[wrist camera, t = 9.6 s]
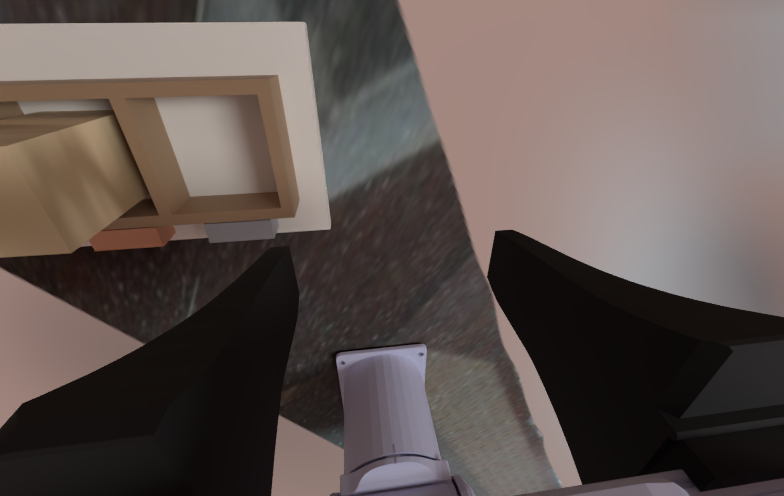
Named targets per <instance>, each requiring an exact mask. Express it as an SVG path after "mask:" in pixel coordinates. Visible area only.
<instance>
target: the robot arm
mask: <svg viewBox="0 0 784 496" xmlns="http://www.w3.org/2000/svg"><path fill="white" fill-rule="evenodd" d="M487 278H488V280H489V283H490V286H491V288H492V291H493V293H494V295H495V297H496V300H497V302H498V303H499V305H500V307H501V309H502V310H503V312H504V314H505V315H506V317H507V318H508V320H509V322H510V324H511V325H512V327H513V329H514V330H515V332H516V334H517V335H518V337H519V339H520V340H521V342H522V344H523V345H524V347H525V348H526V350H527V352H528V354H529V356H530V358H531V360H532V361H533V363H534V366H535V368H536V370H537V372H538V374H539V376H540V378H541V381H542V383H543V385H544V387H545V390H546V392H547V394H548V396H549V399H550V401H551V404H552V406H553V408H554V411H555V413H556V415H557V418H558V420H559V423H560V425H561V428H562V430H563V433H564V436H565V438H566V441H567V443H568V446H569V448H570V451H571V454H572V457H573V459H574V462H575V465H576V468H577V471H578V474H579V477H580V479H581V482H582V485H578V486H572V487H566V488H559V489H553V490H547V491H541V492H534V493H528V494H522V495H515V496H784V317H779V316H774V315H768V314H762V313H757V312H751V311H746V310H740V309H735V308H729V307H724V306H720V305H716V304H711V303H707V302H702V301H698V300H694V299H690V298H685V297H682V296H678V295H674V294H670V293H667V292H664V291H660V290H657V289H653V288H650V287H646V286H643V285H640V284H637V283H634V282H630V281H628V280H625V279H623V278H620V277H617V276H614V275H612V274H609V273H606V272H604V271H601V270H598V269H596V268H594V267H592V266H589V265H587V264H584V263H582V262H580V261H578V260H576V259H573V258H571V257H569V256H567V255H565V254H563V253H561V252H559V251H557V250H554V249H552V248H550V247H548V246H546V245H544V244H542V243H540V242H538V241H536V240H534V239H532V238H530V237H528V236H526V235H524V234H521V233H519V232H516V231H514V230H502V231H495V236H494V242H493V248H492V253H491V259H490V264H489V270H488V276H487ZM298 304H299V290H298V285H297V280H296V276H295V271H294V266H293V262H292V257H291V252H290V247H289V246H285V247H271V248H270V249H268V250H267V251H266V252H265V253H264V254H263V255H262V256H261V257H260V258H259V259H258V260H257V261H256V262H255V263H254V264H253V265H252V266H250V267H249V268H248V269H247V270H246V271H245V272H244V273H243V274H242V275H241V276H240V277H239V278H238V279H237V280H235V281H234V282H233V283H232V284H231V285H230V286H228V287H227V288H226V289H225V290H224V291H222V292H221V293H220V294H219V295H218V296H217V297H215V298H214V299H213V300H212V301H210V302H209V303H208V304H207V305H205V306H204V307H203V308H201V309H200V310H199V311H197V312H196V313H194V314H193V315H191V316H190V317H188V318H187V319H186V320H184V321H183V322H181V323H180V324H178V325H177V326H175V327H173V328H172V329H170V330H168V331H167V332H165V333H163V334H162V335H160V336H159V337H157V338H155V339H154V340H152V341H150V342H149V343H147V344H145V345H144V346H142V347H140V348H139V349H136V350H135V351H133V352H131V353H129V354H127V355H125V356H123V357H122V358H120V359H118V360H116V361H114V362H112V363H110V364H108V365H106V366H104V367H102V368H100V369H98V370H96V371H94V372H92V373H90V374H88V375H86V376H83V377H81V378H79V379H77V380H75V381H72V382H70V383H68V384H66V385H63V386H61V387H59V388H57V389H55V390H53V391H50V392H48V393H46V394H44V395H41V396H39V397H37V398H35V399H32V400H30V401H27V402H25V403H23V404H22V405H21V406H20V407H19V408H18V409H17V410H16V412H15V413H14V414H13V415H12V416H11V417H10V418H9V419H8V420H7V422H6V423H5V424H4V425H3V426H2V427H1V428H0V496H271V489H272V477H273V466H274V454H275V453H274V452H275V444H276V434H277V425H278V416H279V407H280V399H281V391H282V385H283V380H284V375H285V370H286V366H287V362H288V357H289V353H290V349H291V344H292V340H293V336H294V331H295V327H296V322H297V315H298ZM426 352H427V349H426V346H425V345H424V344H414V345H405V346H395V347H386V348H377V349H367V350H358V351H349V352H340V353H338V354H337V355H336V364H337V370H338V376H339V383H340V389H341V396H342V402H343V409H344V475H341V476H340V493H332V494H331V495H330V496H475V494H474V492H473V490H472V488H471V487H470V485H469V484H468V483H466V482H465V481H464V480H463V478H462V477H461V476H460V475H453V476H451V474H450V470H449V466H448V461H447V460H441V457H440V452H439V448H438V444H437V440H436V435H435V431H434V427H433V422H432V418H431V414H430V410H429V405H428V401H427V397H426V393H425V388H424V383H425V367H426ZM341 361H343V362H341Z"/></svg>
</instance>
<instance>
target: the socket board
mask: <svg viewBox="0 0 784 496" xmlns="http://www.w3.org/2000/svg"><path fill="white" fill-rule="evenodd" d="M87 110H114V112H115V115H116V117H117V119H118V122H119V124H120V126H121V128H122V131H123V133H124V135H125V138H126V140H127V142H128V145H129V147H130V149H131V152H132V154H133V156H134V158H135V161H136V163H137V165H138V168H139V170H140V172H141V175H142V177H143V179H144V182H145V184H146V186H147V188H148V191H149V193H150V194H149V195H147V196H146V197H145V198H144V199H142V200H141V201H140V202H138V203H137V204H136V205H134V206H133V207H132V208H130V209H129V210H128V211H126V212H125V213H124V214H122V215H121V216H120V217H118V218H117V219H116V220H115V221H113V222H112V223H111V224H109V225H108V226H107V227H105V228H104V229H103V230H101V231H100V232H99V233H97V234H96V235H95V236H93V237H92V238H91V239H89V240H88V241H87V242H86V243H84V244H83V245H82V246H92V247H93V249H94V250H95V251H105V250H119V249H134V248H148V247H162V246H165V244H166V243H167V242H168V241H169V240H183V239H198V238H208V239H209V242H210V243H218V242H232V241H246V240H260V239H274V238H275V235H276V233H284V232H298V231H313V230H327V229H331V218H330V210H329V202H328V194H327V186H326V178H325V170H324V162H323V154H322V146H321V138H320V130H319V122H318V114H317V106H316V98H315V90H314V82H313V74H312V66H311V58H310V50H309V42H308V34H307V26H306V23H305V22H213V23H67V24H0V120H2V119H7V118H11V117H16V116H21V115H25V114H30V113H35V112H39V111H87ZM82 246H80V247H82Z"/></svg>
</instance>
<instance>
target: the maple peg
mask: <svg viewBox="0 0 784 496" xmlns="http://www.w3.org/2000/svg"><path fill="white" fill-rule="evenodd" d="M149 194H150V193H149V191H148V188H147V186H146V184H145V182H144V179H143V177H142V175H141V172H140V170H139V168H138V165H137V163H136V161H135V158H134V156H133V154H132V152H131V149H130V147H129V145H128V142H127V140H126V138H125V135H124V133H123V131H122V128H121V126H120V124H119V122H118V119H117V117H116V115H115V112H114V110H87V111H39V112H35V113H30V114H25V115H21V116H16V117H11V118H7V119H2V120H0V258H2V257H18V256H35V255H51V254H68V253H72V252H74V251H75V250H76V249H78V248H79V247H80V246H82V245H83V244H84V243H86V242H87V241H88V240H89V239H91V238H92V237H93V236H95V235H96V234H97V233H99V232H100V231H101V230H103V229H104V228H105V227H107V226H108V225H109V224H111V223H112V222H113V221H115V220H116V219H117V218H118V217H120V216H121V215H122V214H124V213H125V212H126V211H128V210H129V209H130V208H132V207H133V206H134V205H136V204H137V203H138V202H140V201H141V200H142V199H144V198H145V197H146V196H147V195H149Z"/></svg>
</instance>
